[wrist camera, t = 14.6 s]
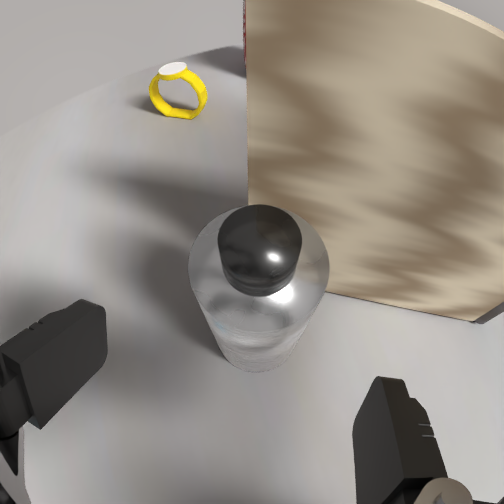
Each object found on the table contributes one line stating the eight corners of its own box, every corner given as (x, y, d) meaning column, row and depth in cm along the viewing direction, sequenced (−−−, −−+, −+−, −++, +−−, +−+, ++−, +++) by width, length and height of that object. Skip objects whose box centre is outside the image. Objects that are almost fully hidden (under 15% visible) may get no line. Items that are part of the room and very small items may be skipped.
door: (487, 304, 20) (645, 152, 4) (488, 325, 19) (660, 180, 4) (255, 252, 22) (260, -37, 7) (248, 275, 22) (244, -30, 6)
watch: (152, 121, 31) (137, 75, 26) (165, 106, 32) (152, 62, 27) (202, 125, 30) (192, 74, 25) (213, 110, 31) (205, 61, 26)
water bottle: (209, 308, 21) (169, 195, 11) (282, 289, 22) (306, 166, 11) (228, 381, 19) (196, 336, 8) (306, 359, 19) (365, 289, 9)
